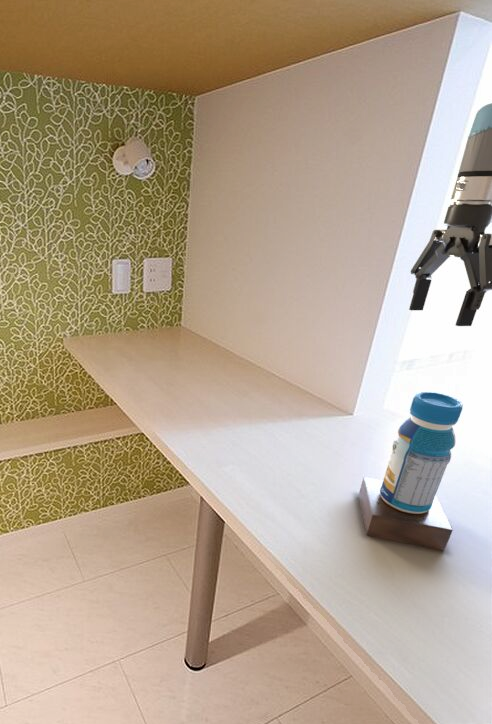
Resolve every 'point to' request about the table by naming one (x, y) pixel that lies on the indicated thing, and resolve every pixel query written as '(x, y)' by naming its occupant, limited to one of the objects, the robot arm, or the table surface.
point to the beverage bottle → (421, 453)
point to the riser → (402, 520)
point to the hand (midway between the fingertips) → (437, 317)
